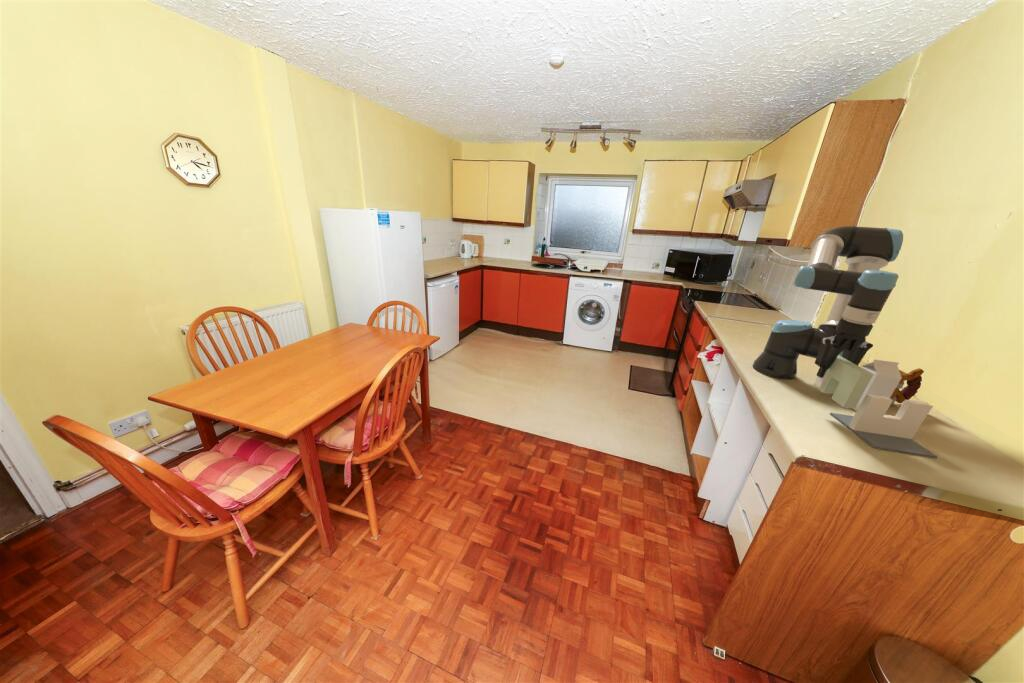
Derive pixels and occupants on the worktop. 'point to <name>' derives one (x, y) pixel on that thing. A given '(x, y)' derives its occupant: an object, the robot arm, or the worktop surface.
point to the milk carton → (881, 379)
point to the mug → (911, 388)
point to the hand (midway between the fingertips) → (824, 386)
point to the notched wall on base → (888, 424)
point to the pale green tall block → (846, 382)
